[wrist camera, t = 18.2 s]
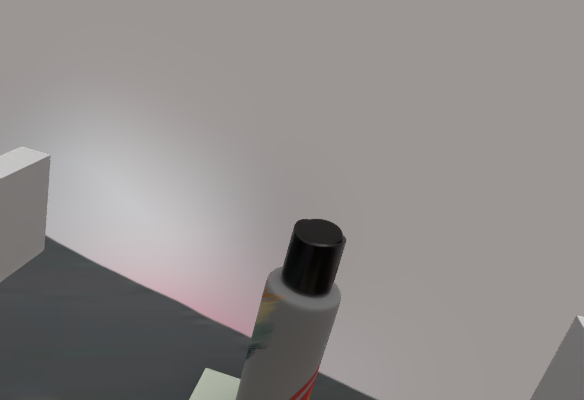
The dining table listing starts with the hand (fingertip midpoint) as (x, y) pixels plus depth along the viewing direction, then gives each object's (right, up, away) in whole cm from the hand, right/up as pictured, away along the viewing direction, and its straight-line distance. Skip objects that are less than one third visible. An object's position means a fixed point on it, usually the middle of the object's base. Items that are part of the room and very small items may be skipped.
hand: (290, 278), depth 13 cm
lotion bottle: (-3, -18, +32) cm, 37 cm away
